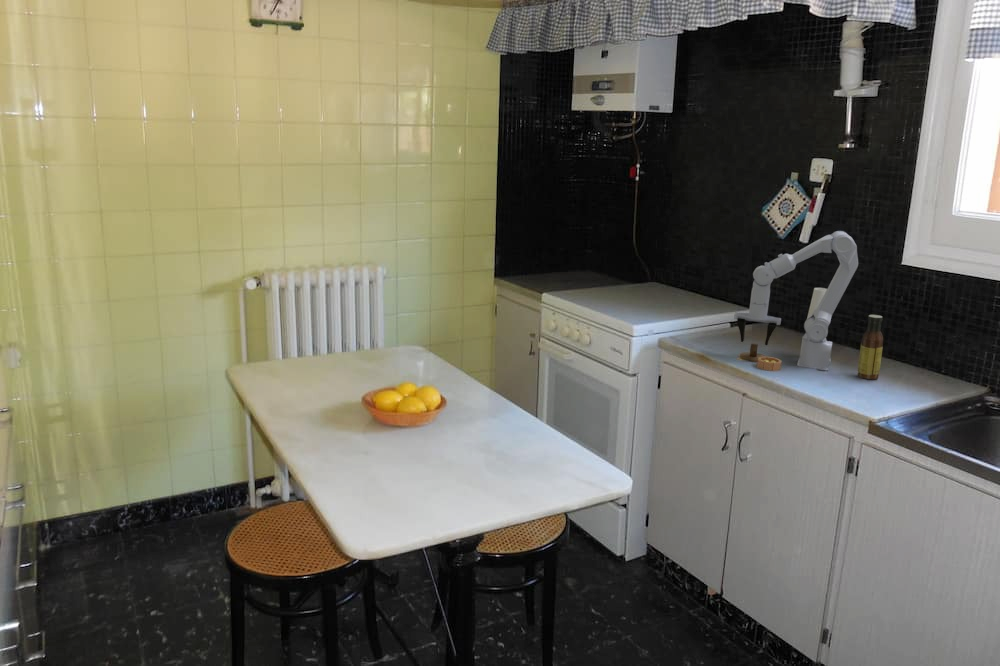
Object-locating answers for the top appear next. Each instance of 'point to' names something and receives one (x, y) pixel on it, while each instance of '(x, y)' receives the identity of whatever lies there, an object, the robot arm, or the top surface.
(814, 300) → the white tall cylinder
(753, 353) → the lid
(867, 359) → the sauce bottle
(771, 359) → the bowl
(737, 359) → the mat
